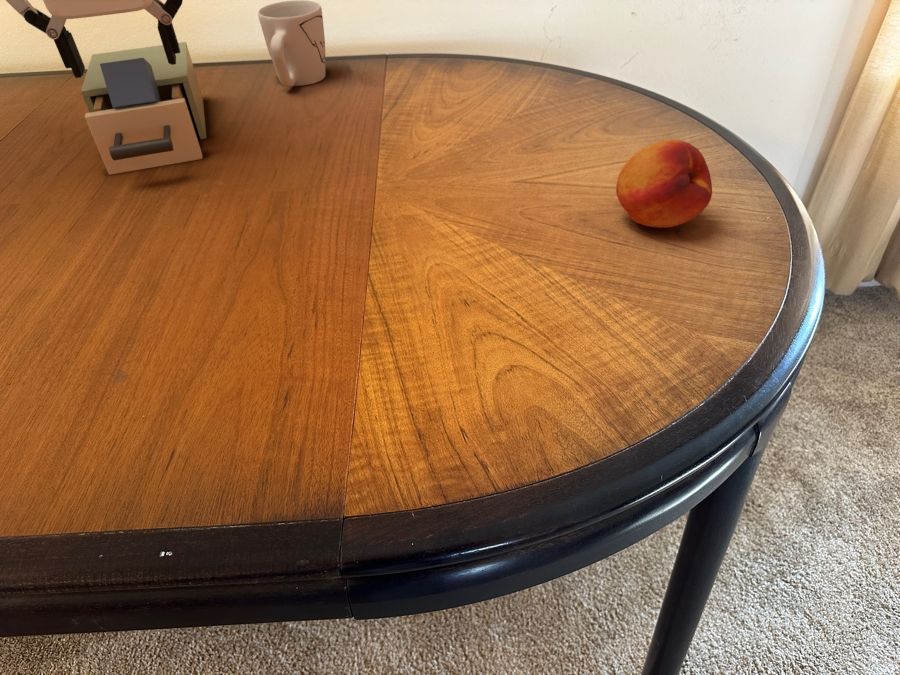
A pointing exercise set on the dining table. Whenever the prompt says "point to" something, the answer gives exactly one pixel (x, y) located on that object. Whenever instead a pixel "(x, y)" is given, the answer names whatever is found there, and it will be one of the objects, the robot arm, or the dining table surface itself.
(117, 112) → the drawer
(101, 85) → the cabinet
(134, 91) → the block
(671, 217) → the fruit
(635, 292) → the dining table surface
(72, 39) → the robot arm
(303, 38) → the mug
